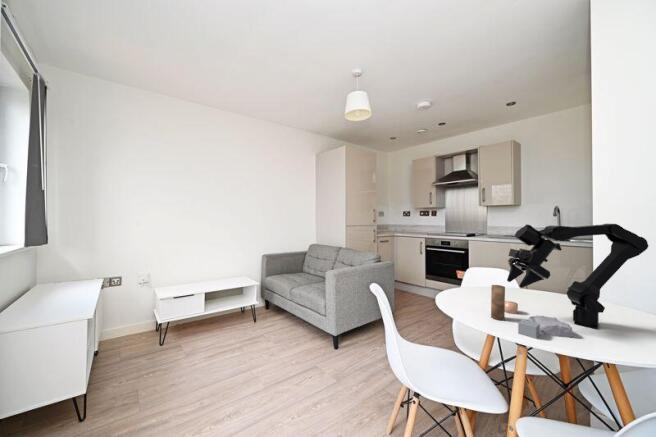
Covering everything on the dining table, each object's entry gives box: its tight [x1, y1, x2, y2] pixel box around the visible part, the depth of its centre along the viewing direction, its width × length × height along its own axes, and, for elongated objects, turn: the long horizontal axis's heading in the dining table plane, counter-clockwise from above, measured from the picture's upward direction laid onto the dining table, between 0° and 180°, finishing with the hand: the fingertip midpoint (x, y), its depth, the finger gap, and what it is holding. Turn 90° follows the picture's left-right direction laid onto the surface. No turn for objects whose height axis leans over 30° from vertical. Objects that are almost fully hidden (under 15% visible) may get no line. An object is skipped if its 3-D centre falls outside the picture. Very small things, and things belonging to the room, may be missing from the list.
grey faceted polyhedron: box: [517, 319, 540, 339], centre depth 92 cm, size 5×5×4 cm
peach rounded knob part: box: [505, 300, 519, 315], centre depth 114 cm, size 5×5×4 cm
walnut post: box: [490, 284, 506, 322], centre depth 107 cm, size 5×5×13 cm
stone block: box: [528, 315, 574, 338], centre depth 97 cm, size 12×5×10 cm
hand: (513, 284), depth 106 cm, fingers open, 9 cm apart
